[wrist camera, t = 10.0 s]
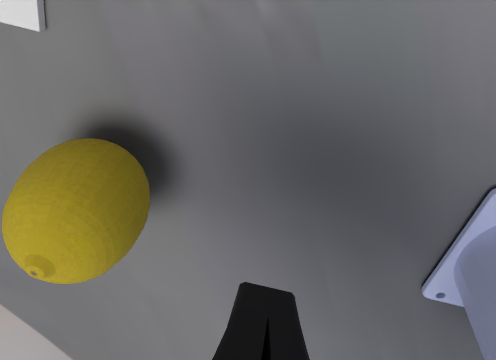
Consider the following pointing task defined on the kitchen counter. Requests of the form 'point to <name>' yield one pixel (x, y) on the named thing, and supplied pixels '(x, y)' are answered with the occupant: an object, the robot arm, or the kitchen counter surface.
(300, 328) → the robot arm
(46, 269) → the lemon
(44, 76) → the kitchen counter surface
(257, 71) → the kitchen counter surface
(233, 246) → the kitchen counter surface
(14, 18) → the white flat panel
